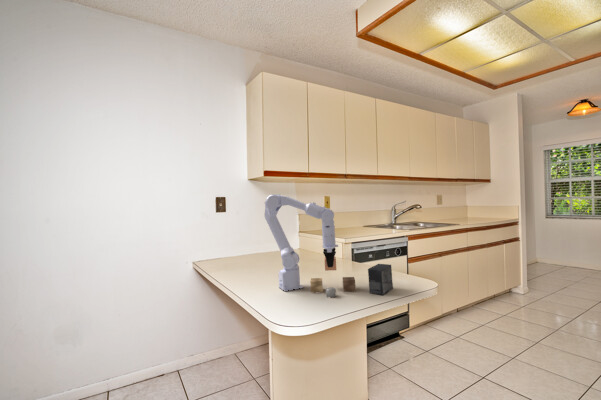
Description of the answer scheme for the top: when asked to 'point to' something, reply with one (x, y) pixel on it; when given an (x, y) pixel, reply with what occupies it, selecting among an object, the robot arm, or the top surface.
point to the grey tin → (330, 292)
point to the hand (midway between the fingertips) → (330, 265)
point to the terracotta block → (330, 267)
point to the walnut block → (349, 284)
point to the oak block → (316, 285)
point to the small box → (380, 279)
